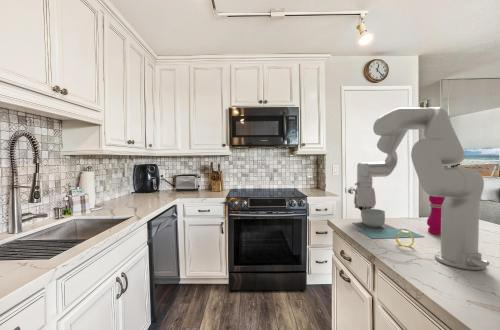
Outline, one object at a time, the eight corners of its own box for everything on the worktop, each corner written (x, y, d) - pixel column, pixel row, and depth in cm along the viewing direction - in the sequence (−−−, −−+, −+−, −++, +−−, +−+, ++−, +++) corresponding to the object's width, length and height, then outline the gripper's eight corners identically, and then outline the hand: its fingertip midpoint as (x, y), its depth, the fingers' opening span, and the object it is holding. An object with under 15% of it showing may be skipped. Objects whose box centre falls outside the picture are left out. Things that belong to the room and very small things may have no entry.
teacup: (382, 230, 117) (383, 213, 116) (358, 226, 123) (358, 211, 123) (387, 224, 128) (387, 208, 127) (364, 221, 134) (365, 206, 134)
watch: (413, 247, 97) (415, 232, 96) (412, 249, 94) (414, 234, 94) (396, 242, 100) (397, 228, 100) (394, 244, 98) (396, 230, 98)
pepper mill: (439, 230, 116) (440, 188, 116) (450, 235, 109) (451, 191, 109) (423, 230, 117) (423, 188, 117) (433, 235, 110) (433, 190, 109)
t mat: (424, 237, 107) (424, 236, 107) (372, 238, 105) (372, 238, 105) (388, 222, 132) (388, 221, 132) (345, 223, 130) (345, 223, 130)
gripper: (354, 186, 129) (354, 220, 129) (382, 185, 130) (381, 219, 131) (348, 184, 136) (347, 217, 137) (373, 184, 137) (373, 216, 138)
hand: (364, 218), depth 134 cm, fingers closed
